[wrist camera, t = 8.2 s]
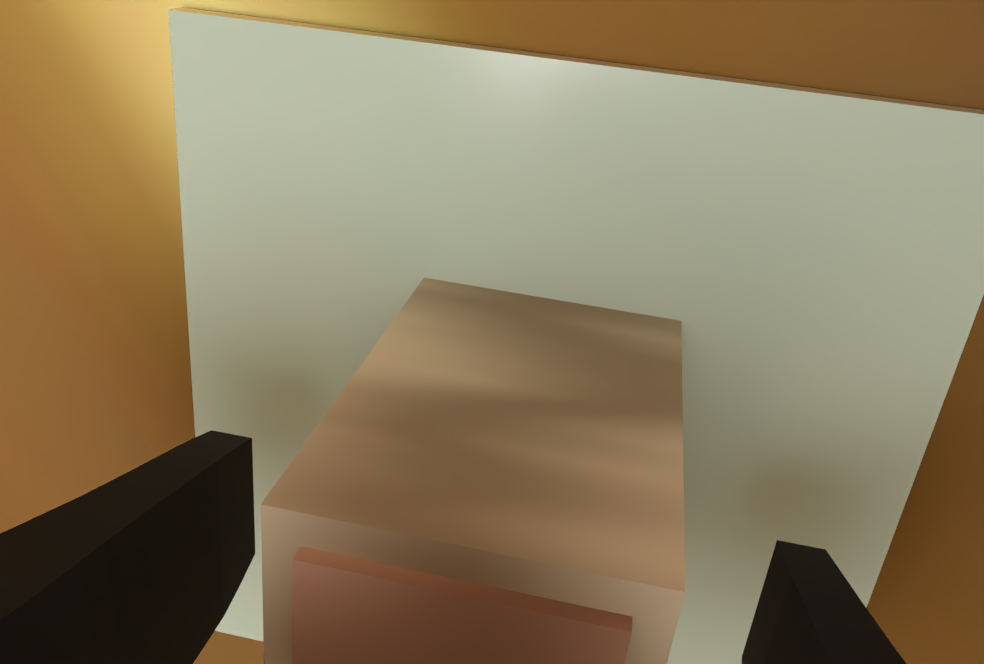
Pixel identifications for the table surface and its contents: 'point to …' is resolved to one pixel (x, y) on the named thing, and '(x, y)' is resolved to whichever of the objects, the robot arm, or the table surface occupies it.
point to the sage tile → (588, 262)
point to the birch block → (487, 493)
